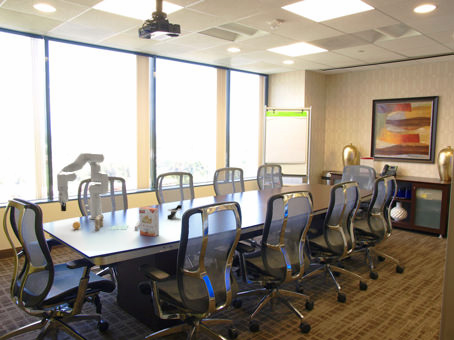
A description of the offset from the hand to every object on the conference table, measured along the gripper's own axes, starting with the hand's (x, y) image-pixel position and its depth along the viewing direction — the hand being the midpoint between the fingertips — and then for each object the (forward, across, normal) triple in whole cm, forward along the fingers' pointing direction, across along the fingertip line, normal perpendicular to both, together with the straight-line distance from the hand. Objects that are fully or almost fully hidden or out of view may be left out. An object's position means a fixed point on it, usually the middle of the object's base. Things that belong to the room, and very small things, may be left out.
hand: (63, 210), depth 296 cm
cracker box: (+15, -25, -70) cm, 76 cm away
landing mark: (+15, 0, -44) cm, 46 cm away
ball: (+12, 0, -10) cm, 15 cm away
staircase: (+16, +30, -88) cm, 94 cm away
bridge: (+15, 0, -28) cm, 31 cm away
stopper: (+15, 0, -58) cm, 60 cm away
